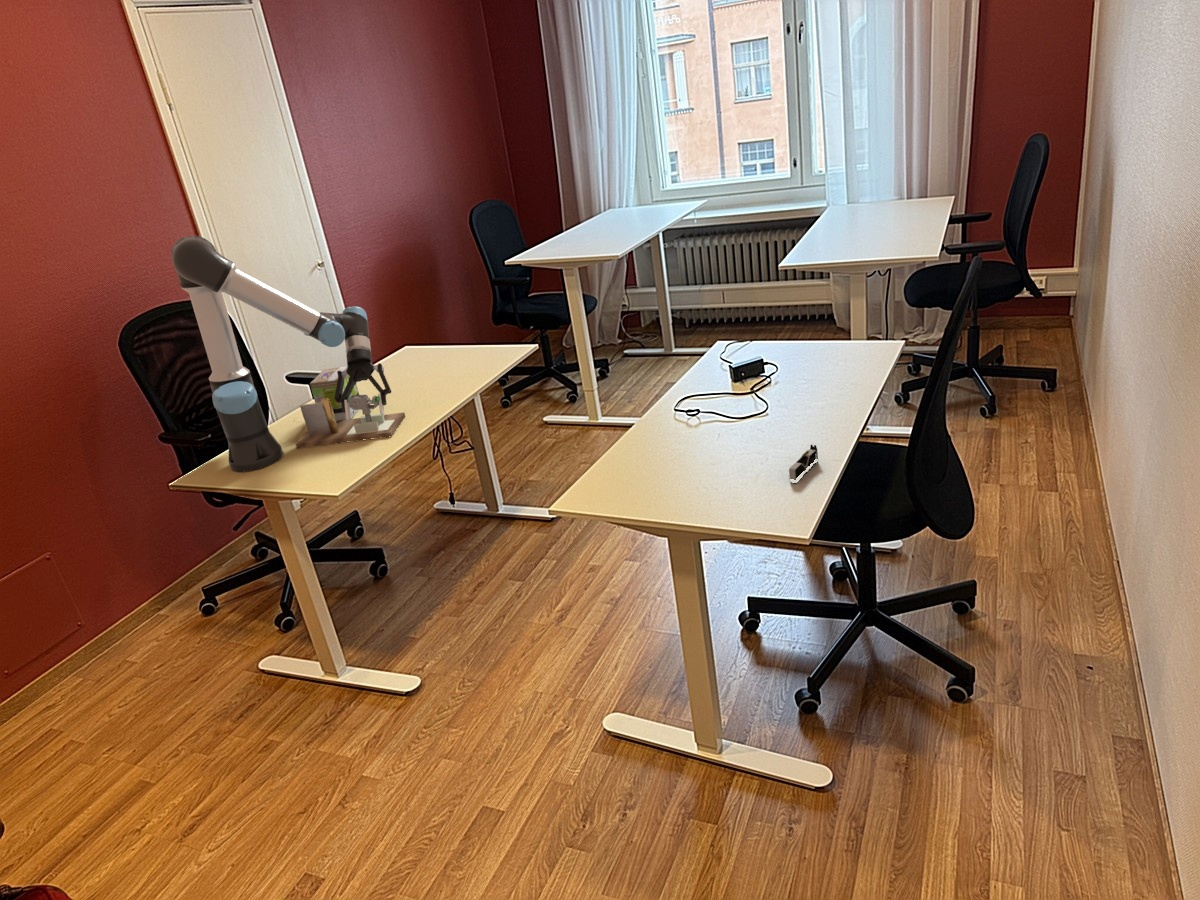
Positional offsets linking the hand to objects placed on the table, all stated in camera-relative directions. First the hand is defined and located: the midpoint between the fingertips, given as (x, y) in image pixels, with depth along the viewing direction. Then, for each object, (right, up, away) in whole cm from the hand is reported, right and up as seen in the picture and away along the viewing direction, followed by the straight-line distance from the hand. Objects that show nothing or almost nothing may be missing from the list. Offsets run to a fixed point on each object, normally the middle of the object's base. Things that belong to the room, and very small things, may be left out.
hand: (365, 417), depth 243 cm
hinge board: (-6, -4, +8) cm, 11 cm away
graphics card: (+118, -15, -60) cm, 133 cm away
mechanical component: (0, -3, +4) cm, 5 cm away
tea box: (-15, +2, +24) cm, 28 cm away
